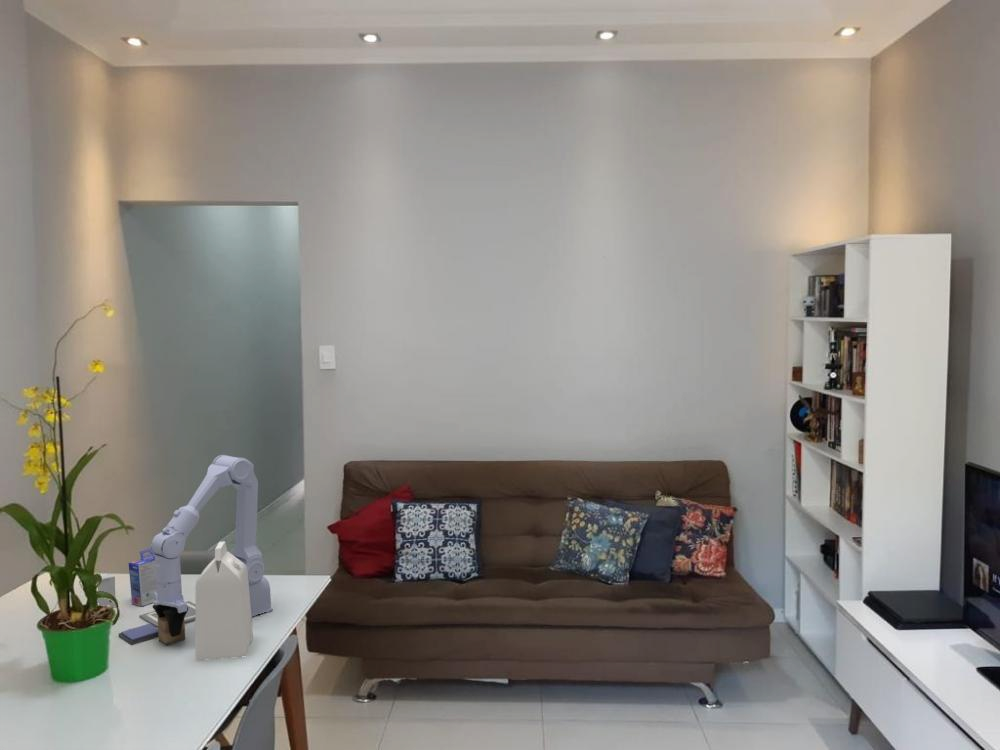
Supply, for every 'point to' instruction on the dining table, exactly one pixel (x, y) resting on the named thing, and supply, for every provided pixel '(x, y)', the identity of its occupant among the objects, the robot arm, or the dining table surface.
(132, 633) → the ink pad
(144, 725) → the dining table surface
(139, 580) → the ink cartridge box
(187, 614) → the mat
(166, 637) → the stamp
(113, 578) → the skincare box
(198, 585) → the milk
